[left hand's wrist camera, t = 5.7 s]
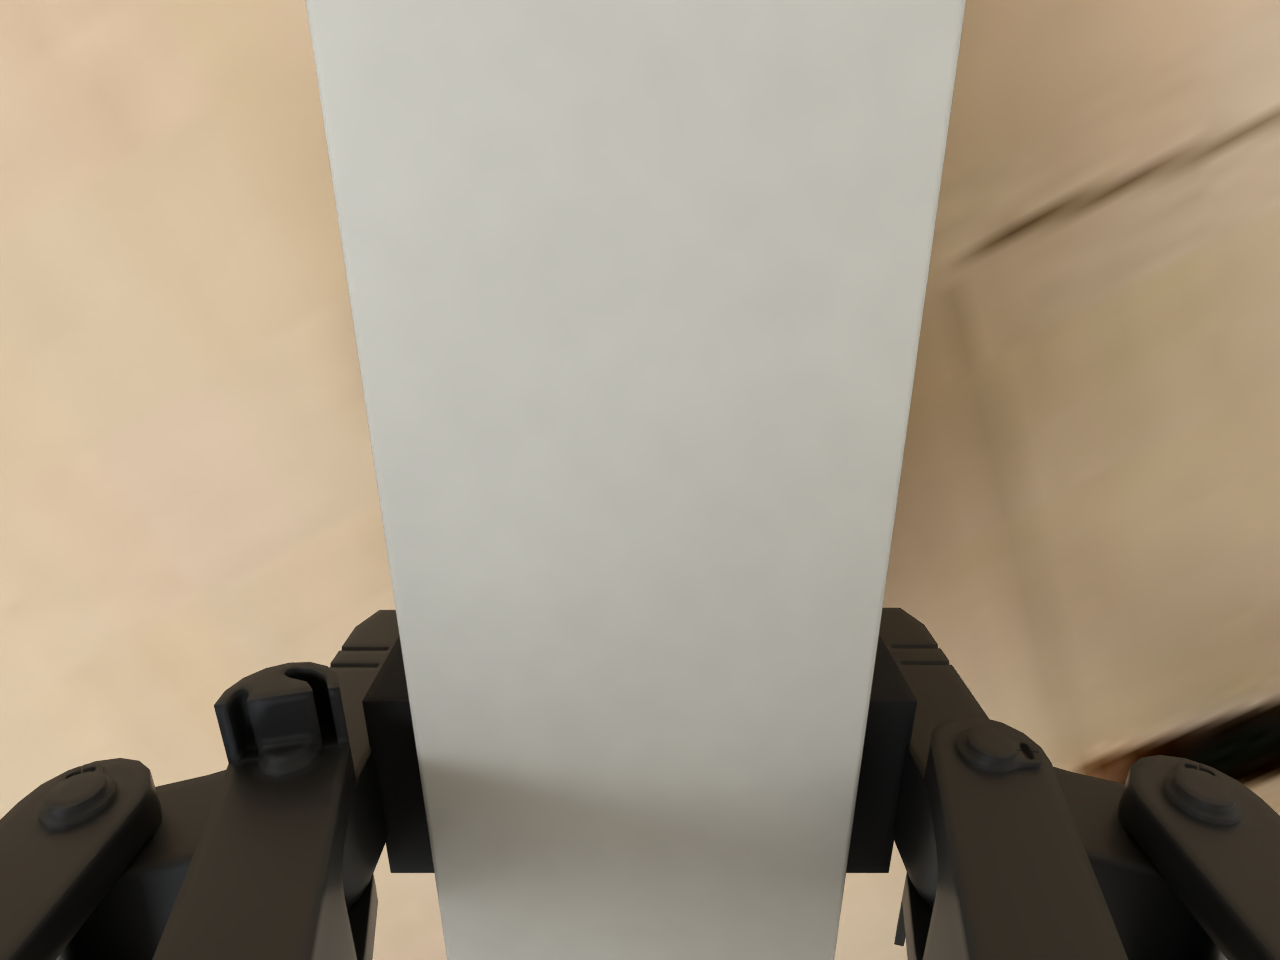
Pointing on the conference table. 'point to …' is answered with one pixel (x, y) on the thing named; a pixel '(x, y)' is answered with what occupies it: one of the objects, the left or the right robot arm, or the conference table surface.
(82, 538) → the conference table surface
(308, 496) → the conference table surface
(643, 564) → the plank
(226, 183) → the conference table surface
